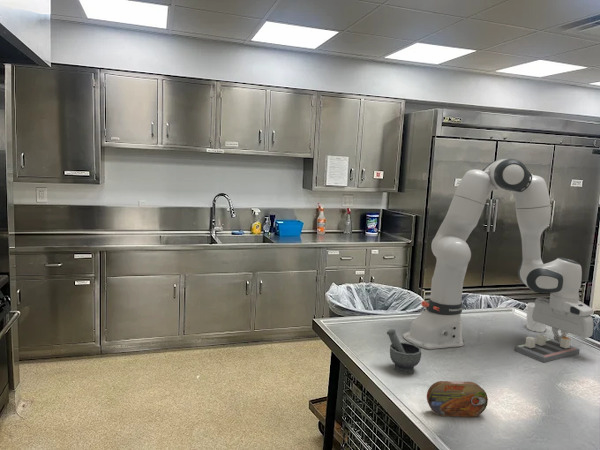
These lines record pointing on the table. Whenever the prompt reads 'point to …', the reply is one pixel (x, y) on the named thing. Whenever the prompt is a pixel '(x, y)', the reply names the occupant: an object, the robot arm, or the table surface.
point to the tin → (457, 398)
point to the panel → (547, 351)
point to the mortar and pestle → (403, 354)
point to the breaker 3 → (565, 342)
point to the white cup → (530, 322)
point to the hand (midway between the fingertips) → (558, 341)
